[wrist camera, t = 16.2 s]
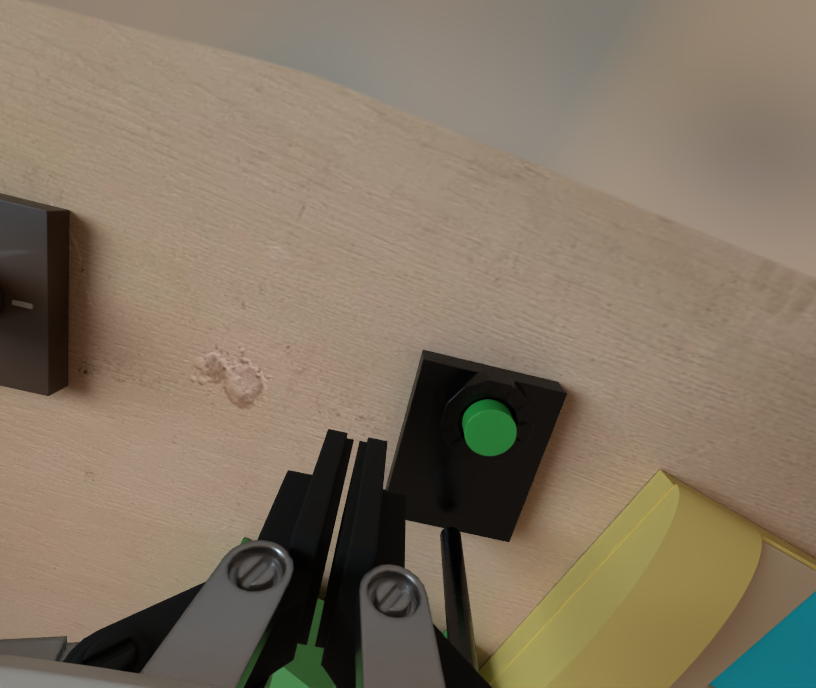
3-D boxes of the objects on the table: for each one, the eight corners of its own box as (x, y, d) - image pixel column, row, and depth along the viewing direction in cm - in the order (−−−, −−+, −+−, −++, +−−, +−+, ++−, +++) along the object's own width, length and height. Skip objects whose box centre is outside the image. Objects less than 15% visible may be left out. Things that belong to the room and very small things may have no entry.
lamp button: (470, 393, 32) (472, 404, 30) (518, 405, 32) (524, 416, 30) (456, 437, 33) (458, 450, 31) (503, 448, 33) (507, 461, 31)
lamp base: (423, 346, 34) (424, 364, 31) (559, 379, 35) (576, 401, 31) (382, 497, 39) (379, 530, 35) (504, 524, 39) (513, 558, 36)
